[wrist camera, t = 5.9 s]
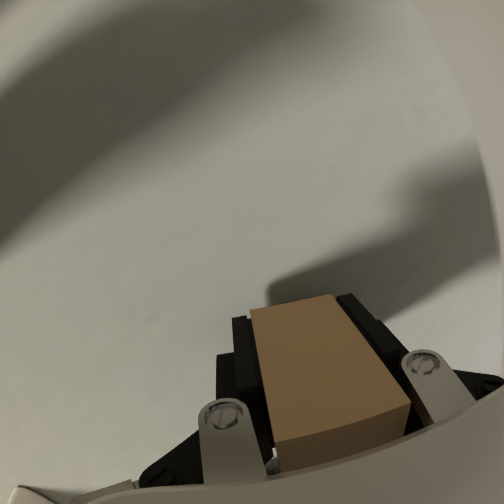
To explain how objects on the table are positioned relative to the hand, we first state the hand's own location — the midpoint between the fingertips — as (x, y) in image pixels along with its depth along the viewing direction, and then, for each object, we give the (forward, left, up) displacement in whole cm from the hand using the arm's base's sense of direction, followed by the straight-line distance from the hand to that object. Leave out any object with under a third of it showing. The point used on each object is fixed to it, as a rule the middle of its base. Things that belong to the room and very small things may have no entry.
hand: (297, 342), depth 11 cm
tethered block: (+7, 0, 0) cm, 7 cm away
